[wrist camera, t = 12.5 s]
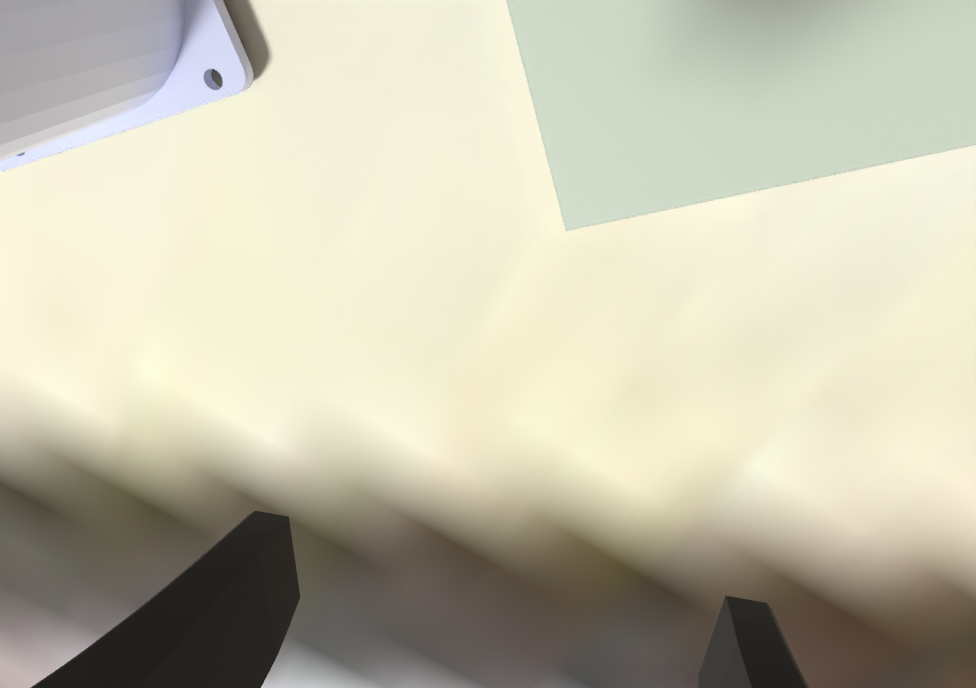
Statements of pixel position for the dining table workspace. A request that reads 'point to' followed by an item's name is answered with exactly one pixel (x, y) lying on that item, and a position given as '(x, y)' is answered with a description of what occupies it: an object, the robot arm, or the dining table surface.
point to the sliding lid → (738, 94)
